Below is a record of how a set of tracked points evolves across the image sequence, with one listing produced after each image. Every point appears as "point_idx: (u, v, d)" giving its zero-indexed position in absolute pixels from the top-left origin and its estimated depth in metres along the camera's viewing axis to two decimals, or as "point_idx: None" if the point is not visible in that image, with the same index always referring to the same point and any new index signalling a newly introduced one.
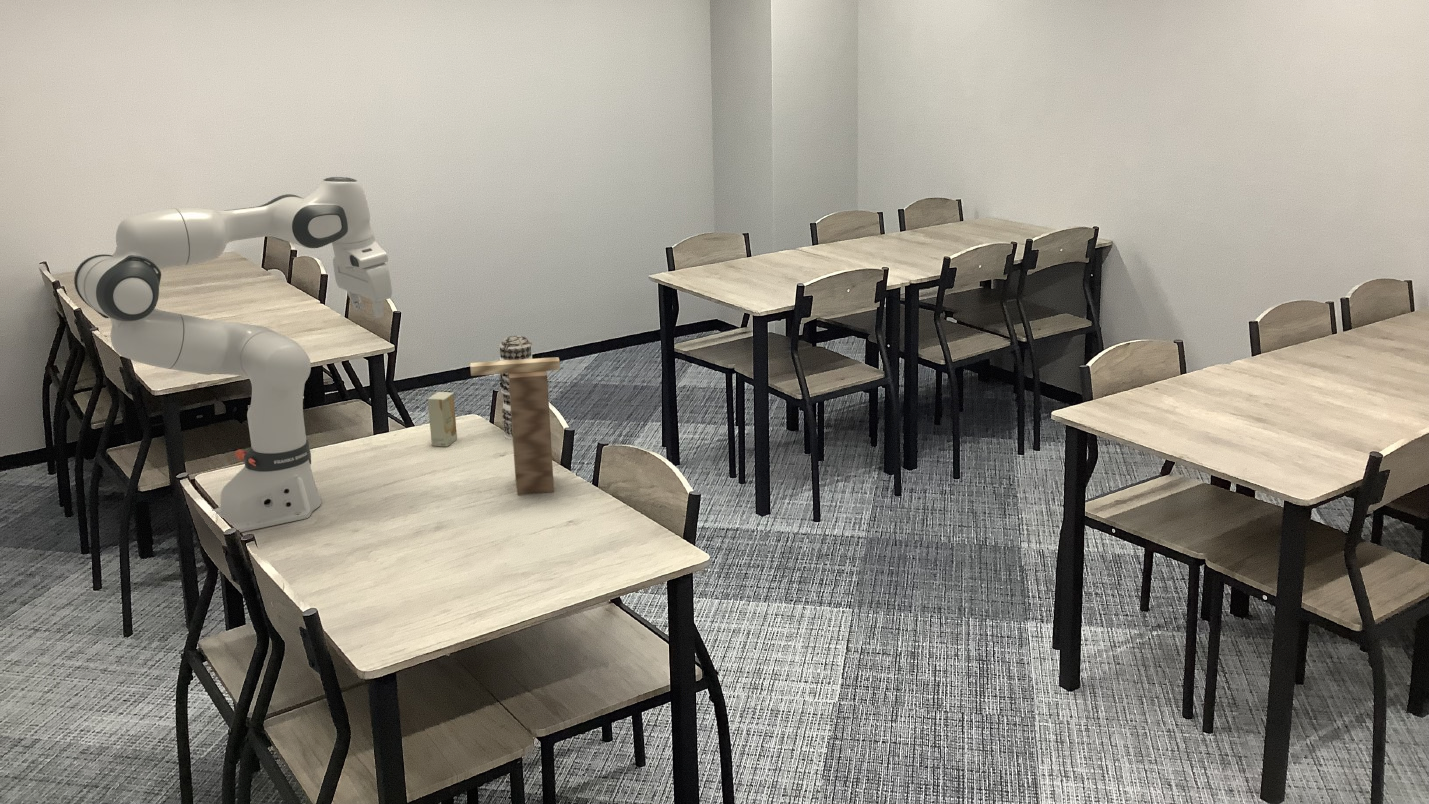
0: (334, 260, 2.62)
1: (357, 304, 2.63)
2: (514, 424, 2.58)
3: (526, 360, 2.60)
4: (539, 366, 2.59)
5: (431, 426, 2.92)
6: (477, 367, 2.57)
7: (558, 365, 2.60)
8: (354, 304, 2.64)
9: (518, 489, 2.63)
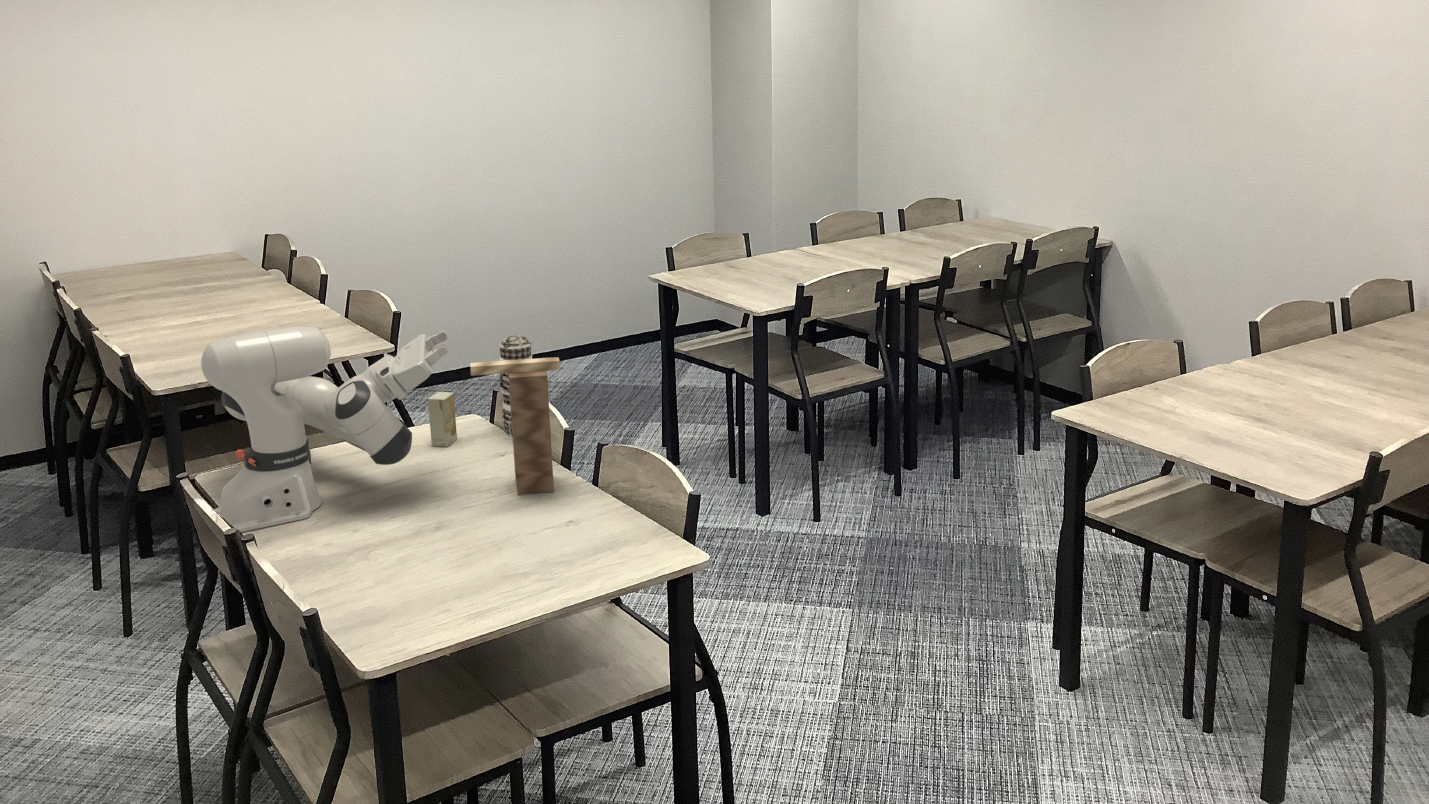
0: None
1: (442, 339, 2.66)
2: (514, 424, 2.58)
3: (526, 360, 2.60)
4: (539, 366, 2.59)
5: (431, 426, 2.92)
6: (477, 367, 2.57)
7: (558, 365, 2.60)
8: None
9: (518, 489, 2.63)
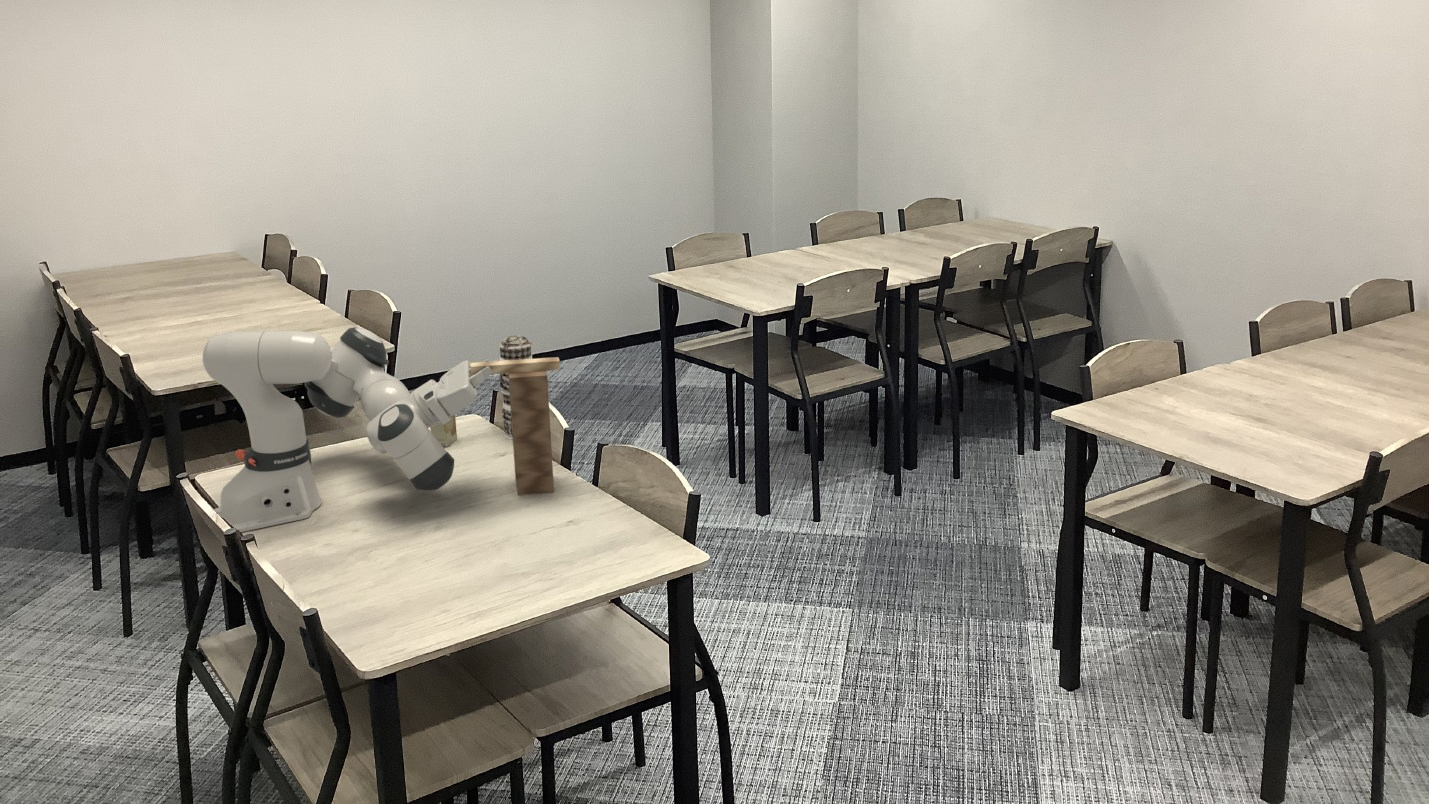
0: None
1: None
2: (514, 424, 2.58)
3: (526, 360, 2.60)
4: (539, 366, 2.59)
5: None
6: (477, 367, 2.57)
7: (558, 365, 2.60)
8: None
9: (518, 489, 2.63)
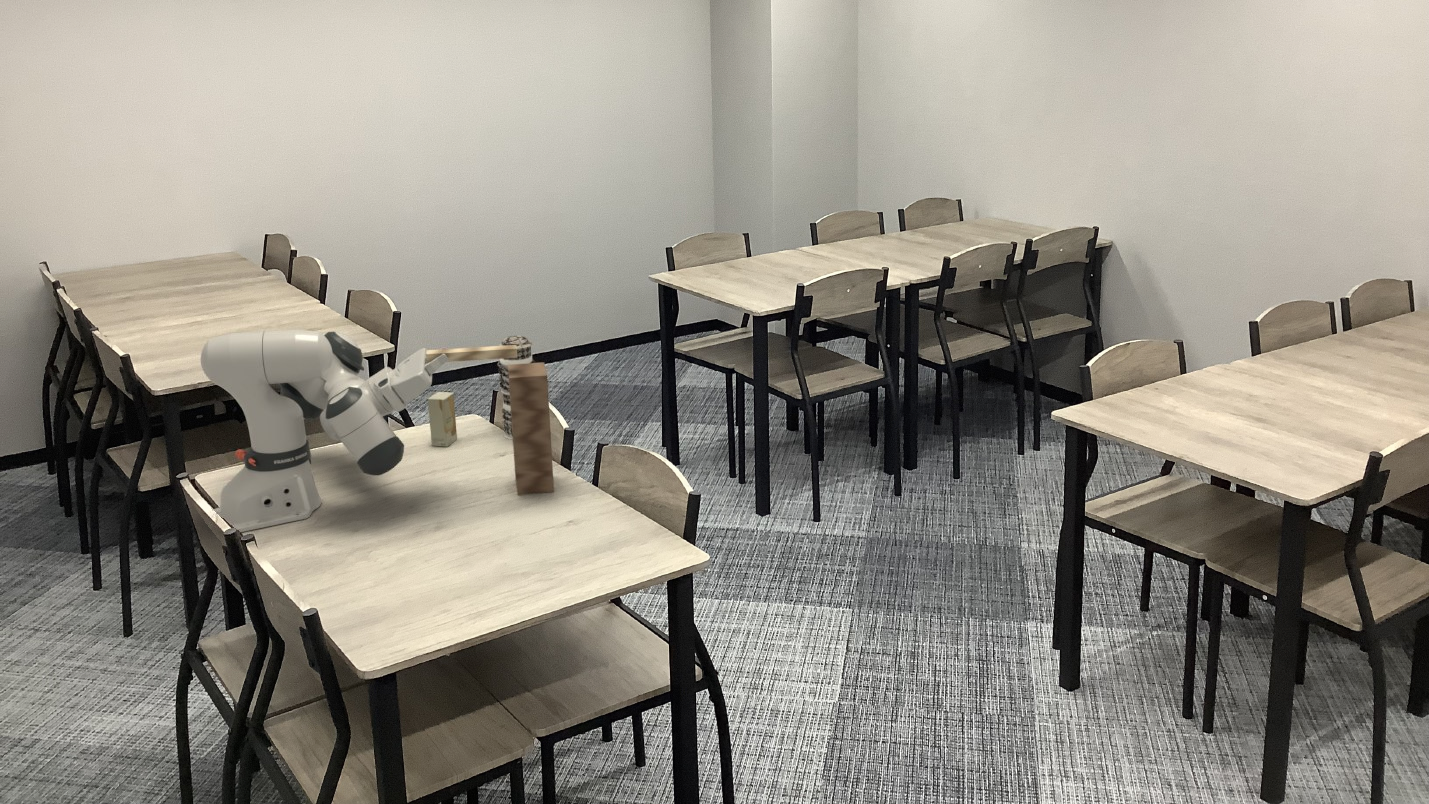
0: None
1: None
2: (514, 424, 2.58)
3: (483, 348, 2.58)
4: (496, 354, 2.56)
5: (431, 426, 2.92)
6: (433, 354, 2.54)
7: (515, 353, 2.57)
8: None
9: (518, 489, 2.63)
